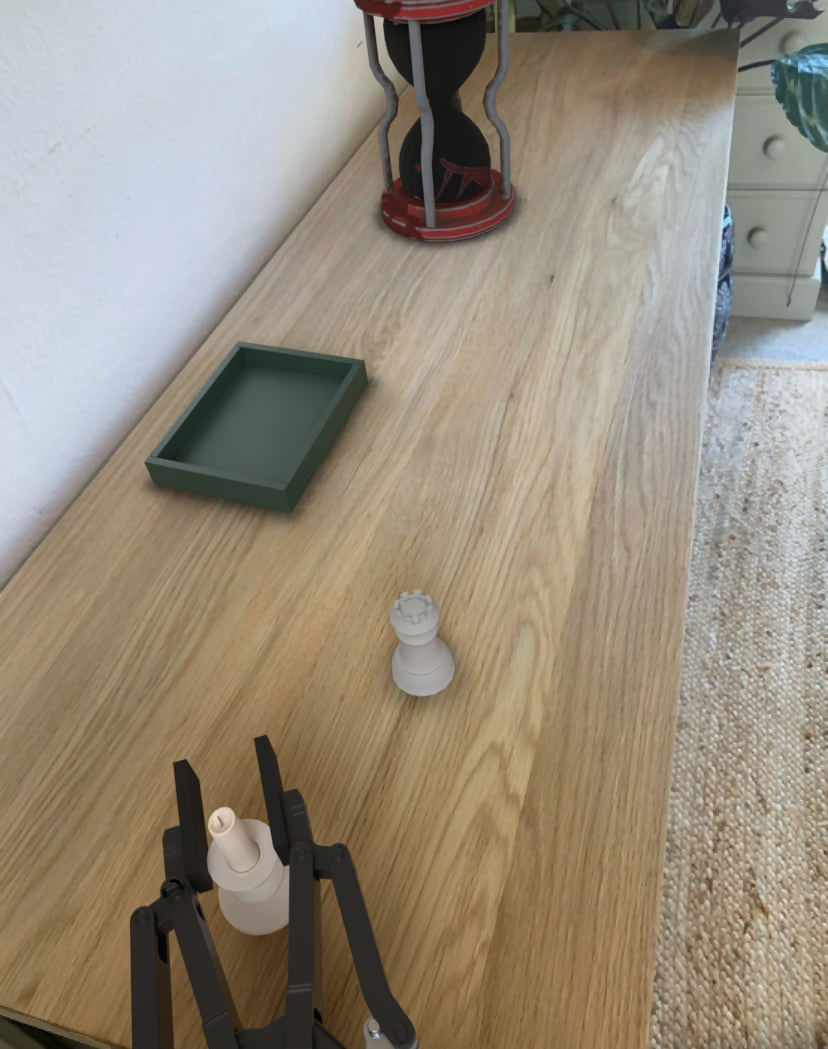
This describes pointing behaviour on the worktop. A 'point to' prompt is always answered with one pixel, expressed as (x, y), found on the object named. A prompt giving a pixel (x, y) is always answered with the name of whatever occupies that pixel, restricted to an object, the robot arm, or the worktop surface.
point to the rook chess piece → (419, 646)
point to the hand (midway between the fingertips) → (226, 760)
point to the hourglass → (441, 118)
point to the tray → (259, 425)
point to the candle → (248, 873)
